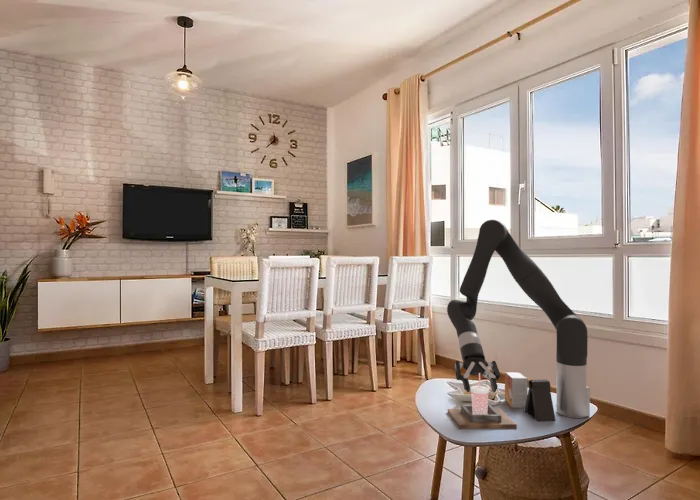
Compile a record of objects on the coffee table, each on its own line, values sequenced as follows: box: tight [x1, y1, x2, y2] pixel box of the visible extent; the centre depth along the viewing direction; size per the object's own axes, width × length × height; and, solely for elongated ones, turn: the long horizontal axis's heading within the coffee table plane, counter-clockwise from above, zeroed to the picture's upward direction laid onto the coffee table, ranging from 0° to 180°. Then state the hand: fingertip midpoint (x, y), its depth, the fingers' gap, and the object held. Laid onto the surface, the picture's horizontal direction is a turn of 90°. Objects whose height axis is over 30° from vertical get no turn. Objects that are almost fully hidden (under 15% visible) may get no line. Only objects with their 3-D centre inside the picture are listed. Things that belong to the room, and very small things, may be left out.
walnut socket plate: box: [447, 404, 518, 430], centre depth 143 cm, size 18×14×3 cm
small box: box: [504, 371, 529, 409], centre depth 158 cm, size 8×6×10 cm
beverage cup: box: [470, 373, 490, 415], centre depth 143 cm, size 6×6×14 cm
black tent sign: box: [524, 379, 556, 422], centre depth 146 cm, size 9×6×12 cm, turn 5°
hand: (481, 390), depth 141 cm, fingers open, 8 cm apart
